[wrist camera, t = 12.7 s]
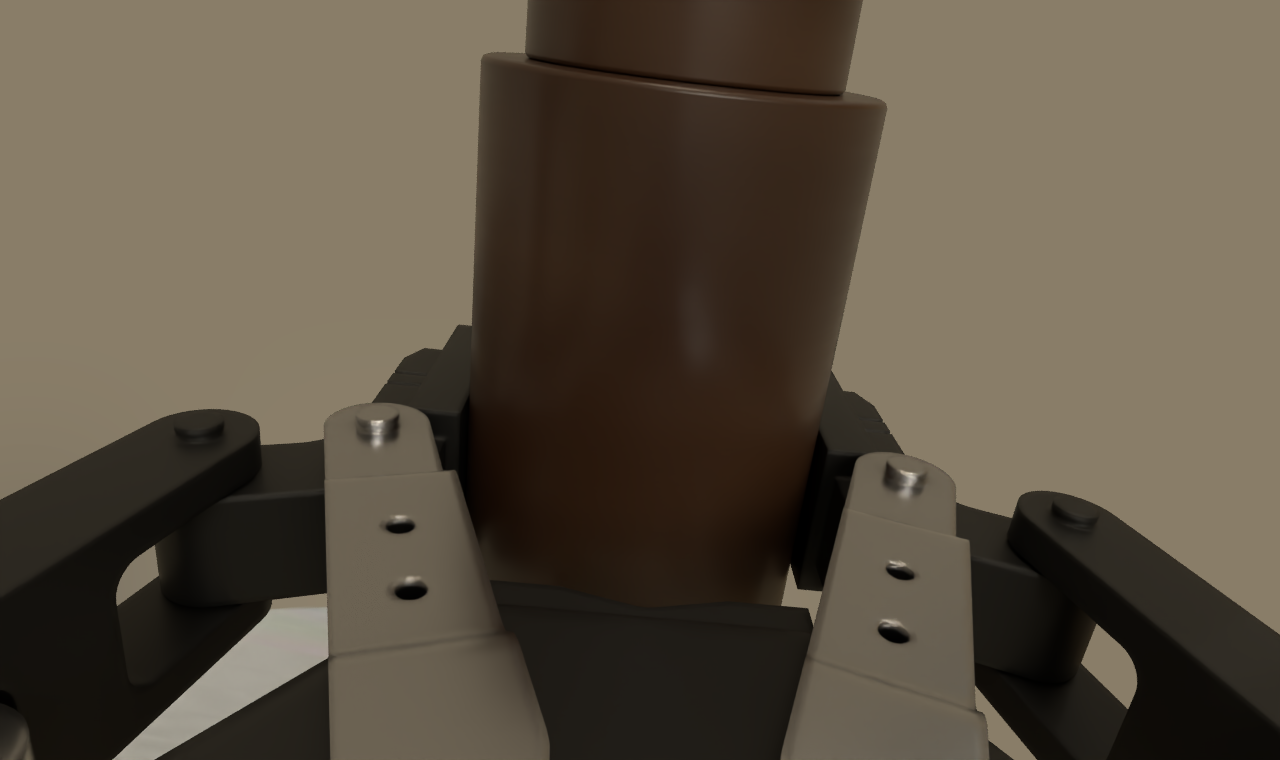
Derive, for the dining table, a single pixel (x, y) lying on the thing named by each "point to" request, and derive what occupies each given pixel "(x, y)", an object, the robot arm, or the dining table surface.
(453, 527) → the robot arm
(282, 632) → the dining table surface
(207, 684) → the dining table surface
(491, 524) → the pepper mill
